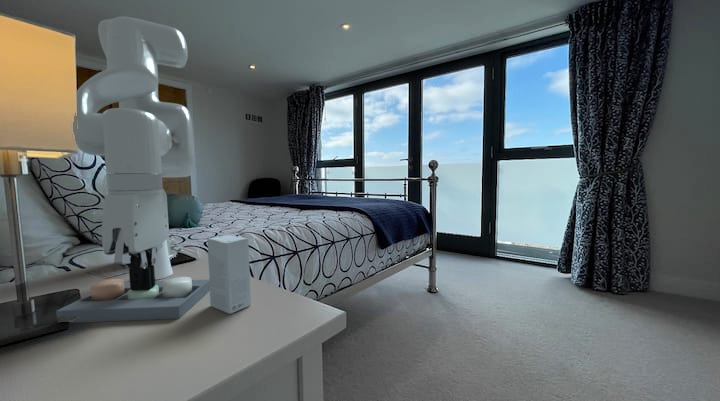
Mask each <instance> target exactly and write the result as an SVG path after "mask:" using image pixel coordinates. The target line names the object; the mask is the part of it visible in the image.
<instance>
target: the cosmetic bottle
mask: <svg viewBox="0 0 720 401" xmlns="http://www.w3.org/2000/svg"><path fill="white" fill-rule="evenodd" d="M152 265H154V271H155V281H160V280H163V279H166V278H169V277H171V276H172V275H173V274H174V273H173V269H172V265H171V259H169V254H168V247H167V240H165V241H164V242H163V243H162V248H161V249H159V250H158V251H157V253H156V262H155V264H152Z"/></svg>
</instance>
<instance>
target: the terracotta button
mask: <svg viewBox="0 0 720 401" xmlns="http://www.w3.org/2000/svg"><path fill="white" fill-rule="evenodd" d="M124 282H125V280H124V279H123V278H111V279H103V280H100V281H97V282H94V283H93V284H91V285H90V287H89V288H90V294H91V298H92V301H108V300H115V299H116V298H118V297H120V296H122V295H124V294H125V290H124Z"/></svg>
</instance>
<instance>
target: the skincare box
mask: <svg viewBox="0 0 720 401" xmlns="http://www.w3.org/2000/svg"><path fill="white" fill-rule="evenodd" d="M207 257H208V258H207V259H208V261H207V262H208V280H209V284H210V291H209V301H210V306H211V307H213V308H215V309H217V310H220V311H222V312H224V313H226V314H228V315H231V314H234V313H236V312H238V311H240V310H243V309H245V308H248V307H250V306H251V304H252V300H251V298H252V297H251V275H250V271H251V270H250V250H249V237H248V238H247V237H240V236H235V235H231V234H228V235H227V234H226V235H221V236H216V237H209V238H207Z"/></svg>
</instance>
